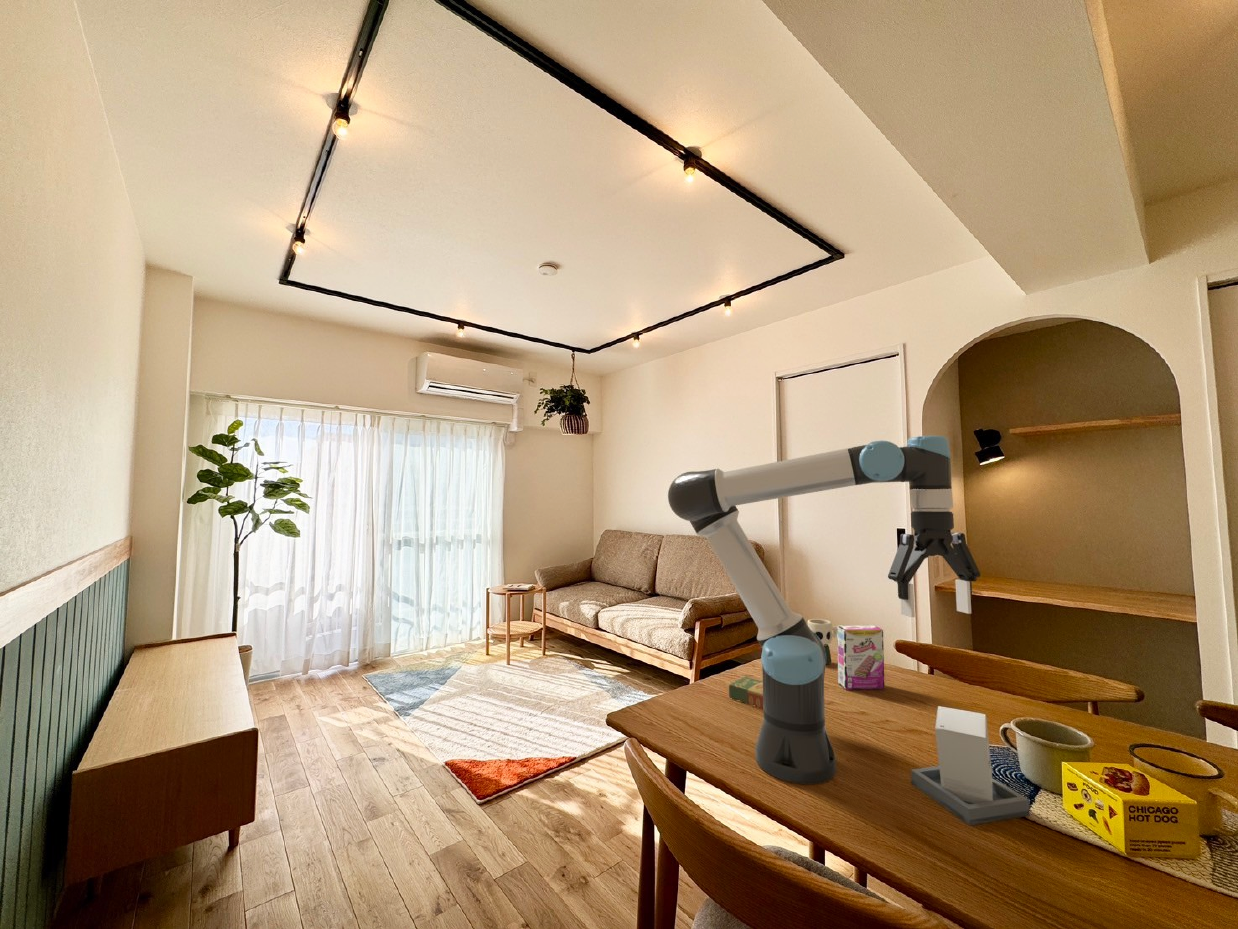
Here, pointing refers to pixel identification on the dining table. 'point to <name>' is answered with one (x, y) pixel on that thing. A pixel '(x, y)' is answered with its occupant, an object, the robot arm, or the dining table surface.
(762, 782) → the dining table surface
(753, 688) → the carton
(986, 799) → the supplement box
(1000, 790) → the holder tray
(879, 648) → the candy bar box
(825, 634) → the character mug
